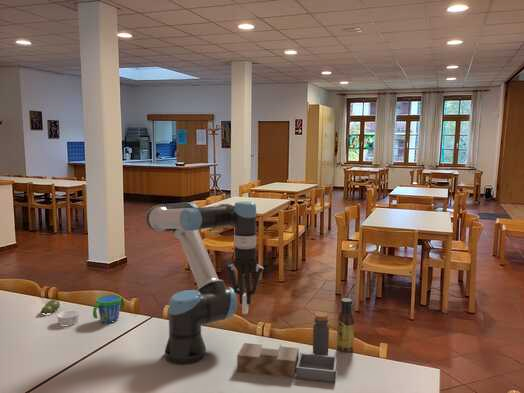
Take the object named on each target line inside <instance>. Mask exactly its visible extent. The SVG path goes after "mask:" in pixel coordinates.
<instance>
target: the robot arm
mask: <svg viewBox="0 0 524 393" xmlns="http://www.w3.org/2000/svg"><path fill="white" fill-rule="evenodd" d="M257 215H258V214H257V205H256V203H255V202H253V201H237V202H235V203H234V205H232V204H229V203H220V204H218V205H214V206H213V205H212V206H203V207H201V206H200V207H198V205H196V203H194V202H186V201H184V202H183V201H182V202H178V203H177V202H175V203H161V204H157V205H154V206H152V207H151V208H149V209H148V210H147V212H146V213H145V218H144V219H145V220H144V222H145V225H146V226H147V228H148V229H150V230H151V231H154V232H158V233H163V232H164V233H166V232H167V233H168V232H172V233H173V237H174V238H176V239H179V242H180V244H181V246H182V250H183V252H184V254H185V257H186V259H187V263H188V264H189V268H190V269H191V273H192V275H193V278H194V280H195V283H196V285H197V290H196V289H190V290H188V289H185V290H181V291H178V292H175V293H174V294H173V295H172V296H171V297H170V298H169V301H168V308H167V310H168V328H169V329H168V333H169V335H168V339H167V342H166V344H165V345H166V346H165V348H164V359H165V361H167V362H169V363H171V364H176V365H189V364H194V363H197V362H199V361H201V360H204V358H205V357H206V355H207V348H206V344H205V341H204V338H203V336H202V326H203V325H207V324H210V323H215V322H219V321H225V320H226V319H229V318H232V317H233V316H234V315H235V313H236V310H237V306H238V299H237V298H238V297H237V295H238V296H239V304H240V305H241V306H242V307H241V308H242V310H241V313H242V315H248V313H249V305H250V304H251V303H252V295H255V294H256V292H257V290H258V285H259V282H260V279H261V275H262V272H263V271H264V269H265V267H264V266H261V265H260V264H259V263H258V261H257V247H256V246H257ZM223 227H232V228H234V230H233V231H234V238H233V239H234V246H235V247H234V259H233V261H232V263H231V264H229V265H227V267H226V269H227V271H228V273H229V276H230V279H231V284H232V287H231V286H226V284H225V282H224V280H223V279H219V276H218V275H217V272H216V270H215V267H214V265H213V262H212V260H211V258H210V254H209V253H208V250H207V248H206V246H205V243H204V241H203V238H202V237H201V236H202V235H201V233H200V230H205V229H213V228H214V229H215V228H223ZM235 269H236V271H237V272H238V277H239V278H238V279H237V275H236V271H235ZM255 270H256V274H255V276H254V281H253V285H252V273H253V271H255ZM245 276H246V281H245ZM238 280H239V281H238ZM245 282H246V286H245ZM245 287H246V289H245ZM245 290H246V291H245Z"/></svg>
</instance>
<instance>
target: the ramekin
mask: <svg viewBox="0 0 524 393" xmlns="http://www.w3.org/2000/svg"><path fill="white" fill-rule="evenodd" d="M56 316H57V320H58V325H59V324H61V325H71V324H75V323H77V322H78V323H79V316H80V311H78V310H76V309H75V310H73V309H71V310H64V311H62V312H59V313H57V315H56ZM78 323H77V324H78ZM75 325H76V324H75Z"/></svg>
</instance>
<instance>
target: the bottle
mask: <svg viewBox="0 0 524 393" xmlns="http://www.w3.org/2000/svg"><path fill="white" fill-rule="evenodd" d="M314 316H315V317H314V319H313V320H314V324H313V326H312V329H313V330H312V354H314V355H325V356H328V354H329V344H330V343H329V342H330V341H329V340H330V339H329V337H330V326H329V319H328V314H327V313H326V312H322V311H321V312H320V311H319V312H315V314H314Z"/></svg>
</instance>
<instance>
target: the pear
mask: <svg viewBox="0 0 524 393" xmlns="http://www.w3.org/2000/svg"><path fill="white" fill-rule="evenodd" d="M60 305H61V303H60V302H59V300H58V299H51V300H48V301H47V302H46V303H45V305H44V306H43V307H42V308H41V310H40V314H41V313H45V314H47V313H51V312H55V311H54V310H56V311H58V310H57V309H58V308H59V309H60ZM51 314H52V313H51Z"/></svg>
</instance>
